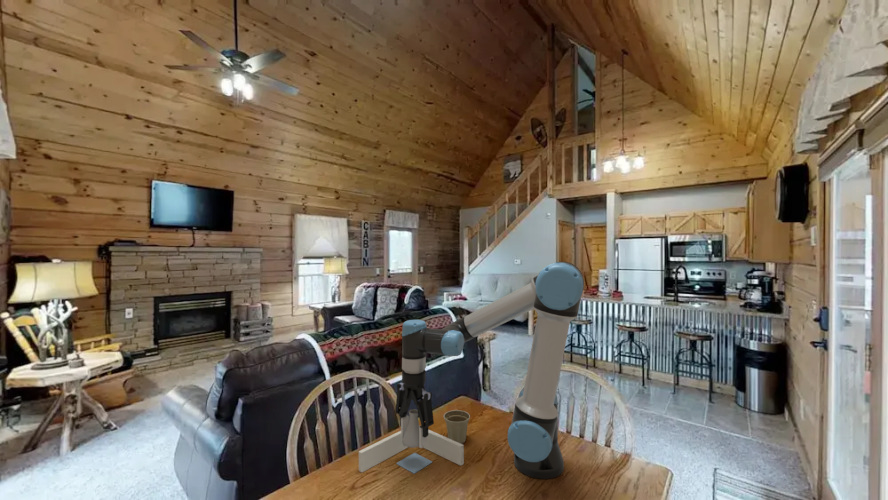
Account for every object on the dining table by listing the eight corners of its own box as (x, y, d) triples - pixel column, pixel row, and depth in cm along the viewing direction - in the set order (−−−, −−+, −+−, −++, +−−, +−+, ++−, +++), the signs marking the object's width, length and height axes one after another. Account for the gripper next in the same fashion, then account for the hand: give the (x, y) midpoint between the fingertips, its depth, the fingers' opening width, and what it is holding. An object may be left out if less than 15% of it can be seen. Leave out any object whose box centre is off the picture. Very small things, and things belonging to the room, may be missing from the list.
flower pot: (460, 450, 127) (460, 424, 127) (438, 441, 133) (438, 416, 133) (475, 438, 135) (475, 414, 135) (453, 430, 140) (453, 407, 140)
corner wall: (463, 463, 119) (463, 444, 119) (408, 502, 101) (407, 480, 101) (415, 440, 134) (414, 423, 134) (358, 470, 116) (358, 451, 116)
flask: (425, 437, 123) (426, 406, 123) (423, 449, 116) (424, 416, 116) (403, 436, 123) (403, 406, 123) (400, 448, 116) (400, 416, 116)
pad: (432, 462, 120) (432, 461, 120) (414, 473, 114) (414, 473, 114) (414, 453, 125) (414, 452, 125) (396, 463, 119) (396, 463, 119)
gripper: (446, 374, 115) (445, 448, 116) (400, 360, 129) (400, 426, 129) (429, 380, 110) (429, 458, 110) (383, 365, 123) (383, 435, 123)
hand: (413, 441), depth 119 cm, fingers closed on flask, 8 cm apart
